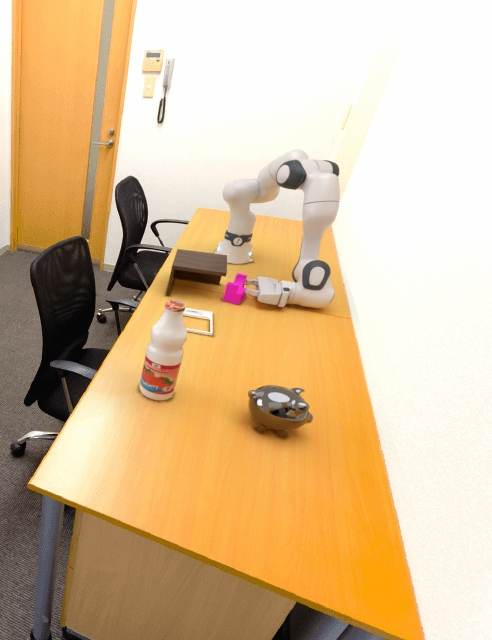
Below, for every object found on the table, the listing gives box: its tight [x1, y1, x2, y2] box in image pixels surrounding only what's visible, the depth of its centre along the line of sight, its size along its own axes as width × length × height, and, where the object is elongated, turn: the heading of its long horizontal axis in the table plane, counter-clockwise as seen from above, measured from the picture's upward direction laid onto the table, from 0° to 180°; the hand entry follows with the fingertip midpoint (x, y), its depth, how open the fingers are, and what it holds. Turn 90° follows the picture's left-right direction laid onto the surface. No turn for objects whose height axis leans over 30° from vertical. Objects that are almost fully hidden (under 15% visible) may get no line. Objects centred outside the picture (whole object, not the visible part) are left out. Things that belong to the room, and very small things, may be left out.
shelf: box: [165, 248, 228, 297], centre depth 181 cm, size 23×20×14 cm
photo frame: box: [183, 307, 214, 336], centre depth 159 cm, size 15×1×18 cm
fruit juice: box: [139, 299, 188, 401], centre depth 116 cm, size 9×9×28 cm
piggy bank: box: [247, 384, 314, 437], centre depth 107 cm, size 11×15×12 cm
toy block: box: [222, 272, 248, 306], centre depth 176 cm, size 15×6×8 cm, turn 139°
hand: (244, 286), depth 175 cm, fingers open, 8 cm apart
